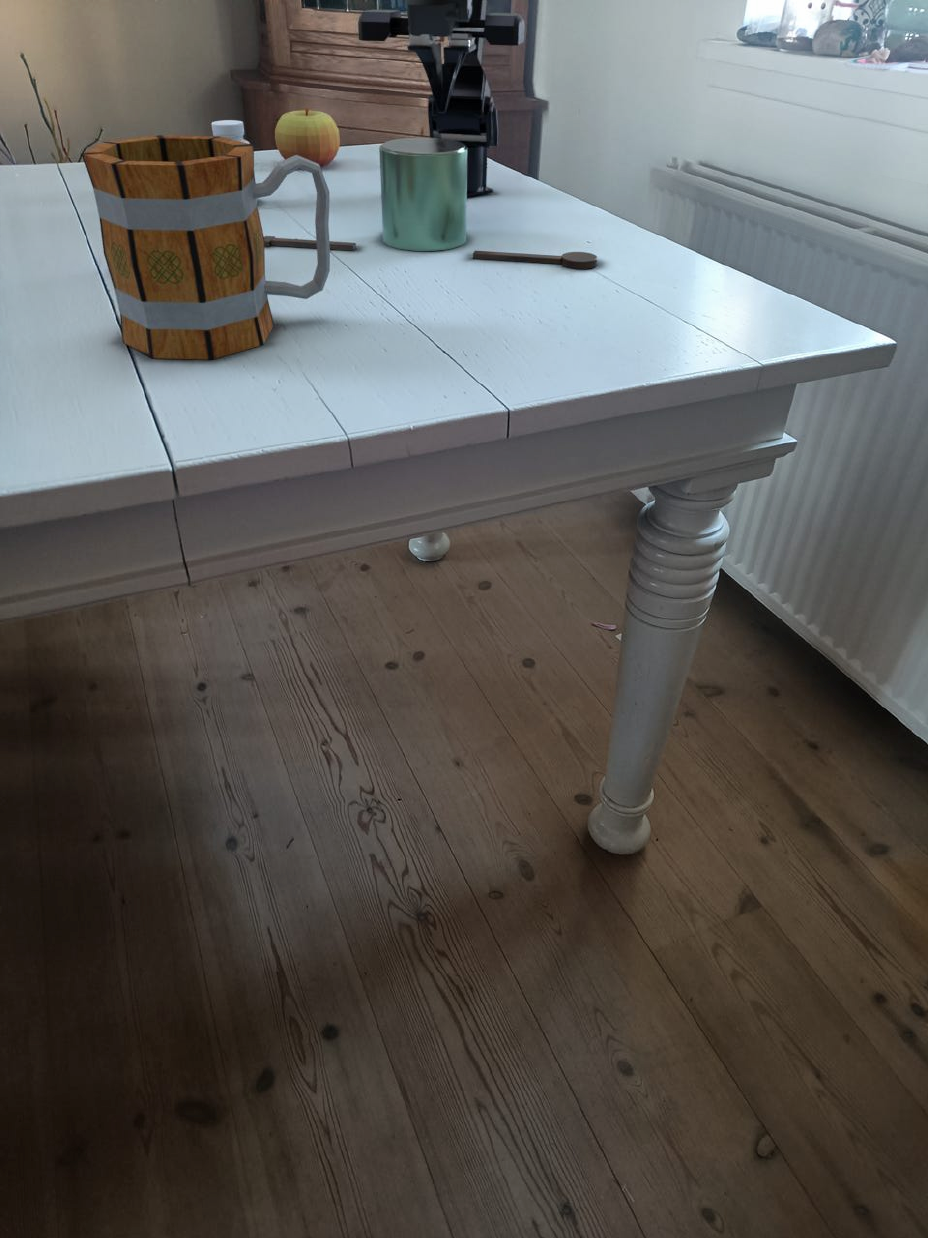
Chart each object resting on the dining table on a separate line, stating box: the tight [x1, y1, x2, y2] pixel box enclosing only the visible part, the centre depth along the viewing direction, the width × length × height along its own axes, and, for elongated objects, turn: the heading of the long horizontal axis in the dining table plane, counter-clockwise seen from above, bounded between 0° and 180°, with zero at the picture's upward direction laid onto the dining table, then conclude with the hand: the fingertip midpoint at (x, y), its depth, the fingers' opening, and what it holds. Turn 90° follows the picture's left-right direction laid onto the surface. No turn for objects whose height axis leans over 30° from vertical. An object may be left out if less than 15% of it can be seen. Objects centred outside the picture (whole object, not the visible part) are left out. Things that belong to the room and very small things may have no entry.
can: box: [378, 137, 468, 252], centre depth 104 cm, size 10×10×10 cm
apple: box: [274, 108, 341, 168], centre depth 139 cm, size 10×10×8 cm
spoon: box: [472, 249, 599, 270], centre depth 101 cm, size 14×4×1 cm, turn 80°
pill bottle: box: [211, 119, 259, 203], centre depth 117 cm, size 5×5×10 cm
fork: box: [264, 235, 357, 252], centre depth 104 cm, size 15×2×1 cm, turn 80°
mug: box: [81, 134, 331, 360], centre depth 78 cm, size 20×14×15 cm
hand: (442, 112), depth 109 cm, fingers closed
